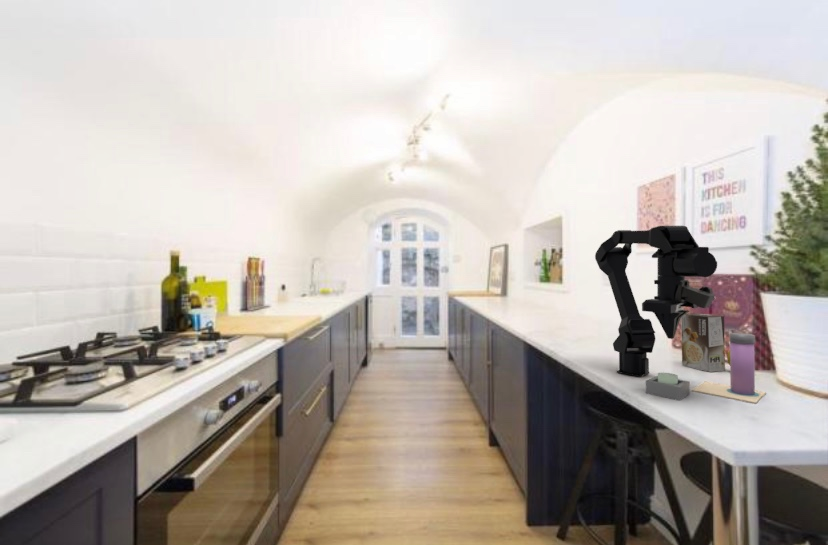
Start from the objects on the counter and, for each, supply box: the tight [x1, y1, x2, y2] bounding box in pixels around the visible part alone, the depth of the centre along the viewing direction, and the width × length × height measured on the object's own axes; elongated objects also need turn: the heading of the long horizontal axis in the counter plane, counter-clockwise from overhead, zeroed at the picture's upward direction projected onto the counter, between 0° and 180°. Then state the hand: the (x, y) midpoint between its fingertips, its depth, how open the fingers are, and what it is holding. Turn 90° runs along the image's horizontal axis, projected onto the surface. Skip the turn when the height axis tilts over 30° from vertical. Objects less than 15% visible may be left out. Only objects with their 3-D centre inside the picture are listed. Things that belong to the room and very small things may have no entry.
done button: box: [657, 372, 678, 385], centre depth 93 cm, size 4×4×4 cm
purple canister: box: [729, 332, 756, 395], centre depth 92 cm, size 5×5×14 cm
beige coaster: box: [690, 381, 767, 404], centre depth 94 cm, size 12×11×1 cm
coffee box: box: [680, 312, 726, 373], centre depth 117 cm, size 9×6×16 cm
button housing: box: [645, 375, 691, 401], centre depth 93 cm, size 7×7×3 cm
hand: (670, 338), depth 97 cm, fingers closed
